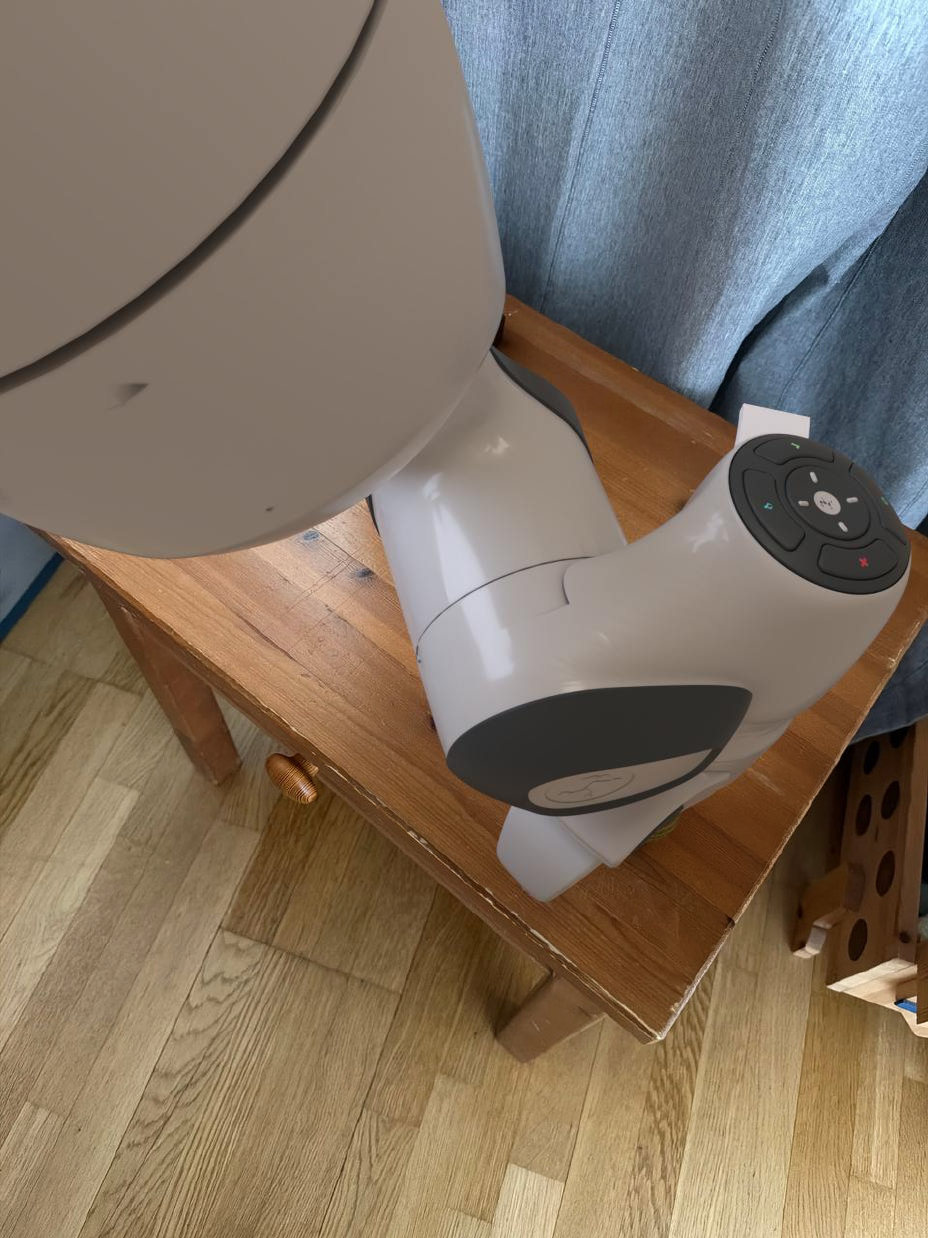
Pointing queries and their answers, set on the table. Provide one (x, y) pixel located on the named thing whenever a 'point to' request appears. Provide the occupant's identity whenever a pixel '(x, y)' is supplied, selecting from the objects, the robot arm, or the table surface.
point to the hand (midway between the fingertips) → (615, 791)
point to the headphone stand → (769, 423)
